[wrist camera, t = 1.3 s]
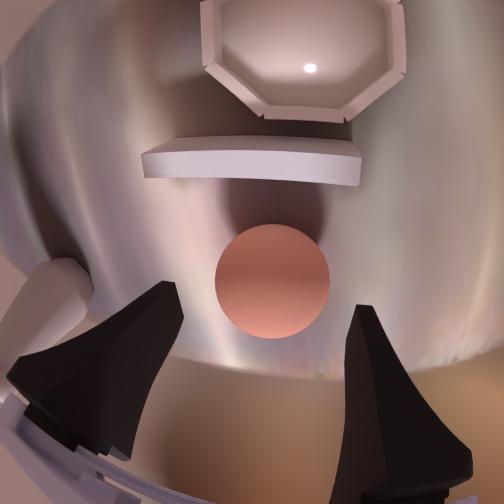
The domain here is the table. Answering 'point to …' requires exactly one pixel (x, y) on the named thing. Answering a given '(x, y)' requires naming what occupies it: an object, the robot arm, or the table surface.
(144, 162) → the wall
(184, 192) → the table surface
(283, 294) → the ball
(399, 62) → the coaster
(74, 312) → the salt shaker
